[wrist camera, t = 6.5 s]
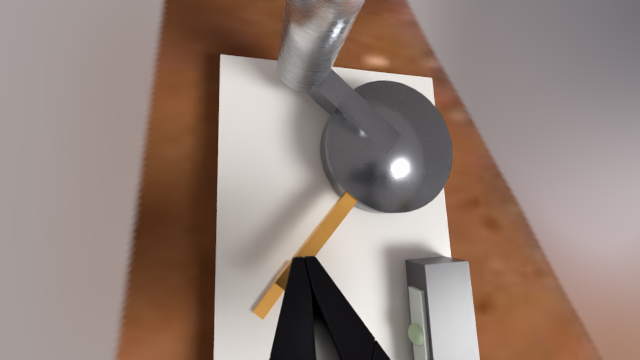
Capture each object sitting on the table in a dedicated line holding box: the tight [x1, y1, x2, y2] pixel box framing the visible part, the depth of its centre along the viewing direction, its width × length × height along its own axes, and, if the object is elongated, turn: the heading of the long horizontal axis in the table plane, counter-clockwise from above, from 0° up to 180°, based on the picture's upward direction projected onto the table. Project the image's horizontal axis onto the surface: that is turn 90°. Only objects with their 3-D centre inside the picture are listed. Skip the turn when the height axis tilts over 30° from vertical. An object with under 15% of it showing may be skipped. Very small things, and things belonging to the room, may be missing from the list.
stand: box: [214, 54, 480, 360], centre depth 16 cm, size 22×15×4 cm
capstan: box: [274, 0, 452, 291], centre depth 10 cm, size 14×12×11 cm
